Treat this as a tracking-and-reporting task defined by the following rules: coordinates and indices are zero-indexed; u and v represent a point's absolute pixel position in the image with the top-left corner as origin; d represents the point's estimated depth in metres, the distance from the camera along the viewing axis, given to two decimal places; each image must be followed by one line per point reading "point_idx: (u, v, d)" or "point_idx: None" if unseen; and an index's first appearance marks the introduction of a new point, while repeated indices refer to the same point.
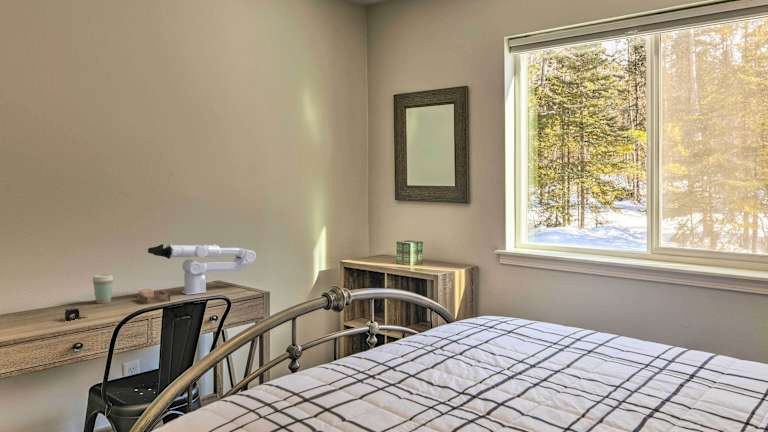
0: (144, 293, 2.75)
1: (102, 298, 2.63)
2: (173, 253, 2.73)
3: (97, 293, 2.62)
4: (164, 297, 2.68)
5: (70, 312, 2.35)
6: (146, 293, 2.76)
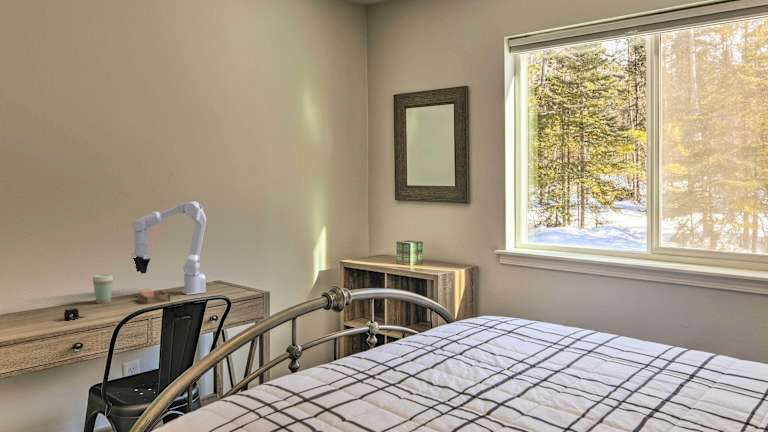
0: (144, 293, 2.75)
1: (102, 298, 2.63)
2: (146, 257, 2.77)
3: (97, 293, 2.62)
4: (164, 297, 2.68)
5: (70, 312, 2.35)
6: (146, 293, 2.76)
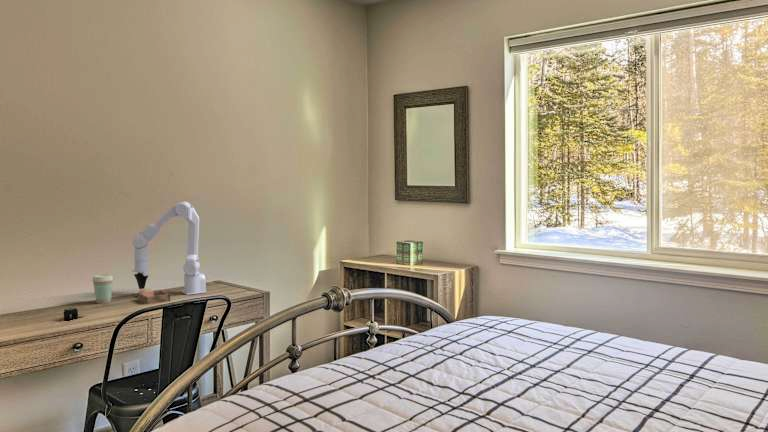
0: (144, 293, 2.75)
1: (102, 298, 2.63)
2: (146, 274, 2.78)
3: (97, 293, 2.62)
4: (164, 297, 2.68)
5: (70, 312, 2.35)
6: (146, 293, 2.76)
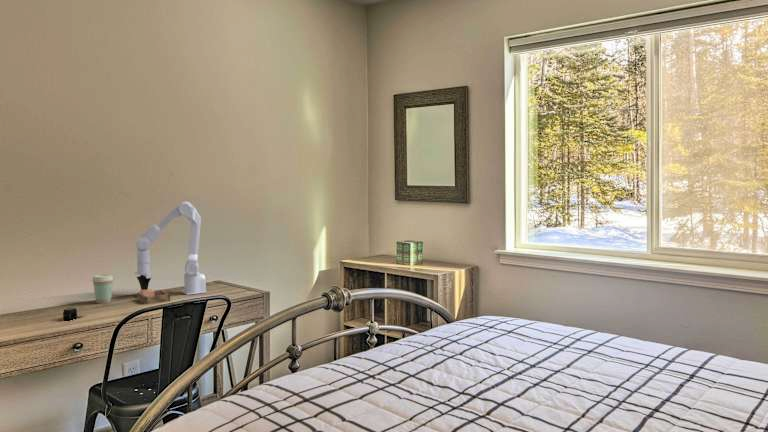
0: (144, 293, 2.75)
1: (102, 298, 2.63)
2: (149, 276, 2.75)
3: (97, 293, 2.62)
4: (164, 297, 2.68)
5: (70, 312, 2.35)
6: (146, 293, 2.75)
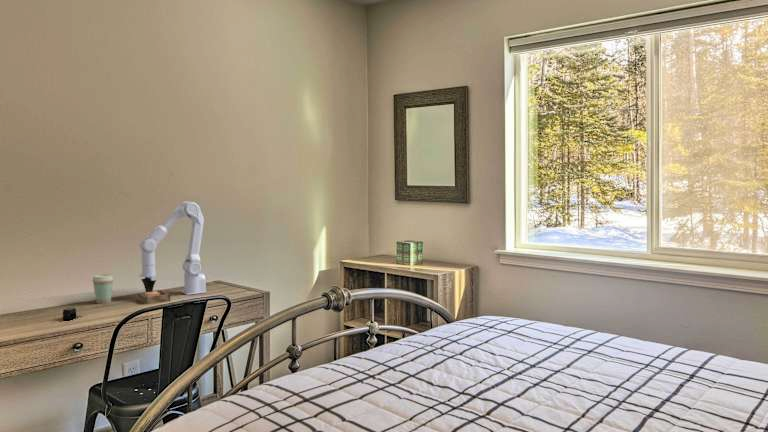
0: (150, 295, 2.69)
1: (102, 298, 2.63)
2: (154, 279, 2.69)
3: (97, 293, 2.62)
4: (164, 297, 2.68)
5: (70, 312, 2.35)
6: (152, 295, 2.70)
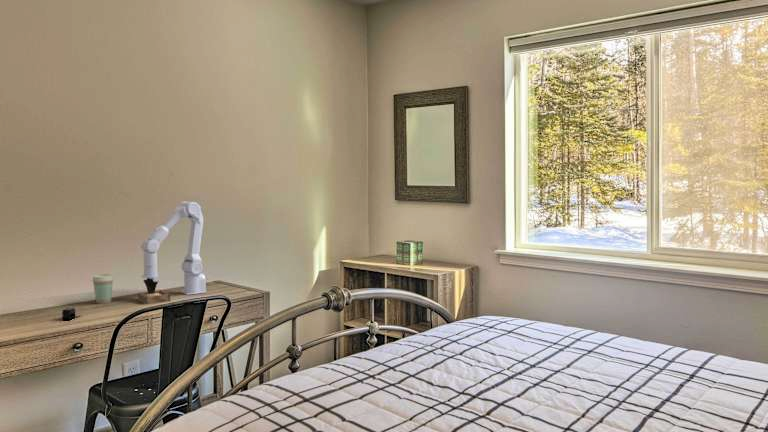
0: None
1: (102, 298, 2.63)
2: (156, 280, 2.67)
3: (97, 293, 2.62)
4: (164, 297, 2.68)
5: (69, 312, 2.35)
6: None
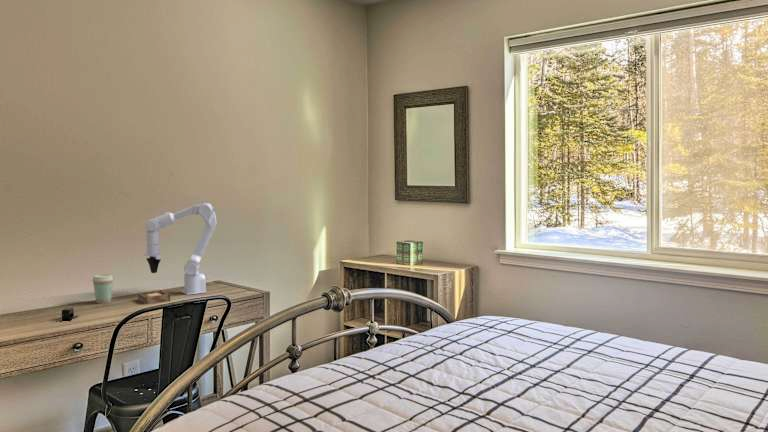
0: None
1: (102, 298, 2.63)
2: (159, 258, 2.77)
3: (97, 293, 2.62)
4: (164, 297, 2.68)
5: (69, 311, 2.36)
6: None
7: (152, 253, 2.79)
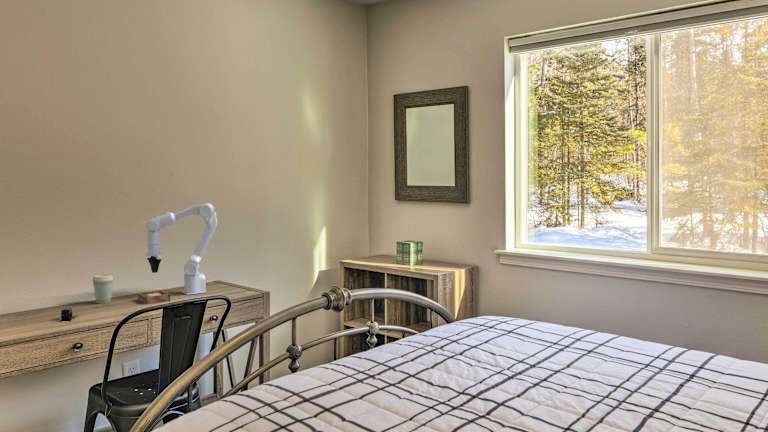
0: None
1: (102, 298, 2.63)
2: (159, 257, 2.77)
3: (97, 293, 2.62)
4: (164, 297, 2.68)
5: (69, 311, 2.36)
6: None
7: (153, 253, 2.80)
